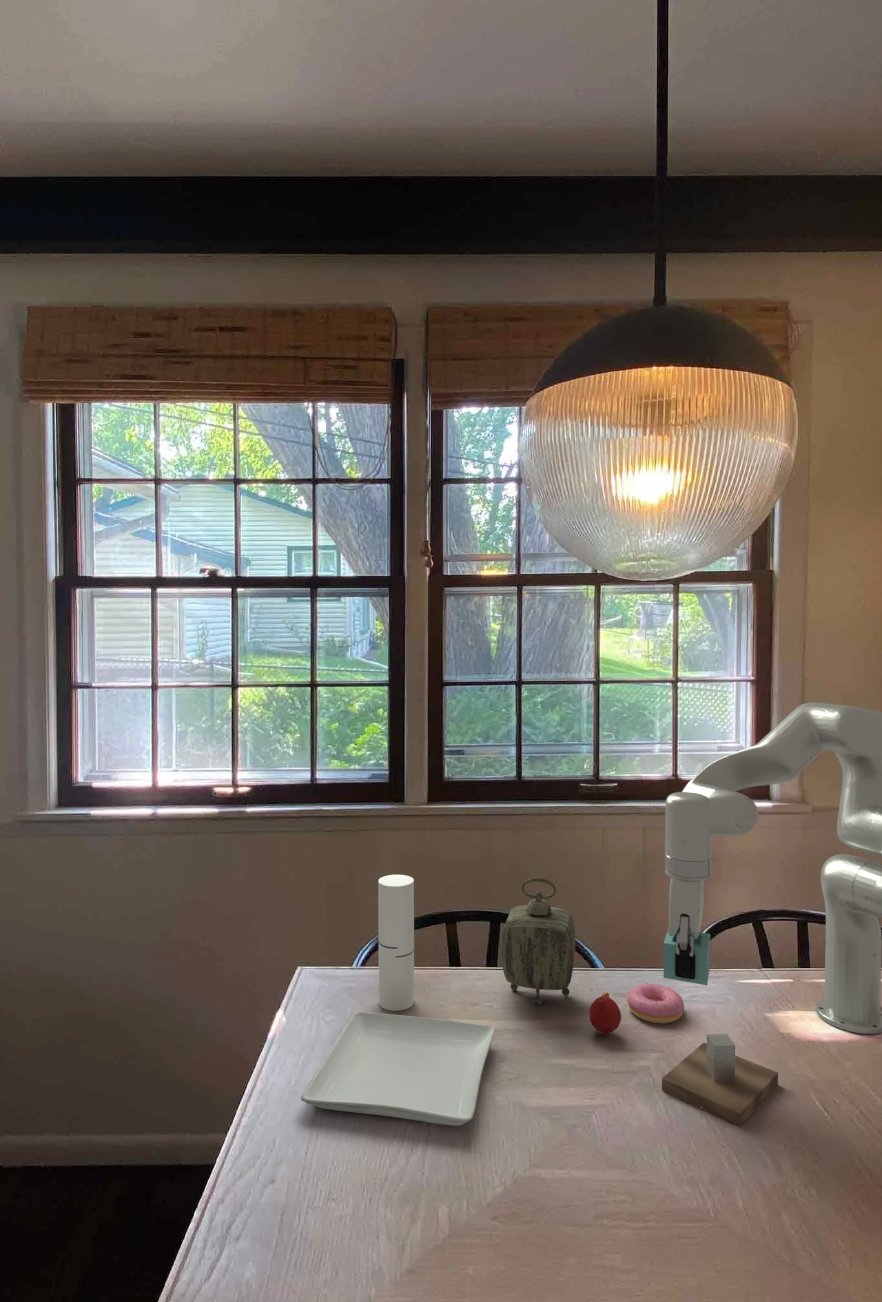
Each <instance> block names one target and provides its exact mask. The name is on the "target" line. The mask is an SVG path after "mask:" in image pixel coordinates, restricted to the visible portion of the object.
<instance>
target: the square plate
mask: <svg viewBox="0 0 882 1302" xmlns="http://www.w3.org/2000/svg"><path fill="white" fill-rule="evenodd" d="M495 1031H496V1030H495V1027H494V1026H492V1025H489V1024H488V1025H487V1024H479V1023H472V1022H471V1023H470V1022H465V1021H459V1020H458V1021H457V1020H456V1021H455V1020H449V1019H442V1018H432V1017H424V1016H423V1017H422V1016H414V1015H403V1014H402V1015H401V1014H394V1013H393V1014H392V1013H391V1014H390V1013H380V1012H379V1013H377V1012H363V1011H355V1012H353V1013H352V1014H351V1016H350V1017H349V1019H348V1021H346V1023H345V1024H344V1027H343V1028H342V1030H341V1032H340V1034H339V1035H338V1036H337V1037H336V1040H335V1041H334V1043H333V1045H332V1046H331V1048H330V1049H329V1051H328V1053H327V1054H326V1056H325V1057H324V1059H323V1061H322V1062H321V1063H320V1065H319V1067H318V1068H317V1069H316V1071H315V1073H314V1075H313V1076H312V1077H311V1079H310V1080H309V1082H308V1083H307V1086H306V1087H305V1088H304V1091H303V1093H302V1094H301V1096H300V1100H301V1101H302V1102H305V1103H306V1104H307V1105H310V1106H313V1107H317V1108H319V1109H324V1110H332V1111H338V1112H346V1113H356V1114H366V1115H374V1116H383V1117H384V1116H385V1117H390V1118H391V1117H392V1118H399V1119H405V1120H411V1121H412V1120H413V1121H417V1122H418V1121H419V1122H425V1123H431V1124H437V1125H442V1126H443V1125H445V1126H452V1127H453V1126H459V1127H460V1126H463V1125H465V1124H466V1123H468V1122H469V1121H471V1120H472V1119H473V1118H474V1115H475V1111H476V1107H477V1099H478V1096H479V1090H480V1089H479V1088H480V1085H481V1078H482V1074H483V1071H484V1067H485V1063H486V1059H487V1057H488V1053H489V1051H490V1048H491V1044H492V1041H493V1039H494V1035H495Z"/></svg>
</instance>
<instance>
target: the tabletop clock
mask: <svg viewBox="0 0 882 1302" xmlns="http://www.w3.org/2000/svg"><path fill="white" fill-rule="evenodd" d="M533 882H541V883H546V884H547V885H550V886H551V887H552V889H553V892H551V893H550V894H547V895H546V894H545V895H542V892H541V891H536V894H532V893H529V892H527V891H526V890H525V886H526V885H527V884H529V883H533ZM521 891H522V893H524V895H526V897H528V898H530V899H531V900H530V901H529V902H528V904H524V905H516V906H514V907H511V909H510V911H509V914H508V915H507V916H508V917H507V918H506V920H505V921H506V922H505V923H504V927H503V931H502V938H501V948H500V949H501V951H500V952H501V962H502V964H501V965H502V966H501V967H502V970H503V975H504V978H505V980H506V982H508V983H510V987H509V988H510V989H511V990H512V991H517V990H518V988H519V987H520V988H521V987H522V988H527V989H532V990H535V996H534V997H533V1003H534V1004H535V1005H537V1006H538V1005H541V1003H542V997H540V992H541V991H543V990H544V991H559V990H560V991H561V994H562V995H563V996H564V997H568V996H569V995H570V989H569V986H570V983H571V981H572V977H573V970H574V964H575V963H574V961H575V955H576V954H575V953H576V944H577V943H576V942H577V941H576V929H575V923H574V918H573V917H572V914H571V913H570V912H569V911H567V910H566V909H563V908H559V907H554V906H551V905H550V904H549V903H548V901H546V900H548V899H550V898H552V897H554V896H555V895H556V893H557V887H556V886H555V884H554V883H553V882H552V881H551V880H548V879H546V878H542V877H531V878H529V879H526V880H525V881H524V882H523V883H522V885H521ZM540 990H541V991H540Z"/></svg>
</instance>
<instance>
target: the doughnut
mask: <svg viewBox="0 0 882 1302" xmlns="http://www.w3.org/2000/svg"><path fill="white" fill-rule="evenodd" d="M627 994H628V995H627V996H626V997H627V998H626V1001H627V1005H628V1009H629V1010H630V1011H631V1013H632V1014H633V1015H635V1017H636V1018H638V1019H641V1020H643V1021H644V1022H645V1021H646V1022H648V1023H653V1024H669V1023H673V1022H675V1021H677V1020H679V1019H681V1017H682V1015H683V1013H684V1009H685V1004H684V999H683V998H682V996H681V995H680V994H679V992H677V991H676V990H675V989H673V988H670V987H669V986H665V985H662V984H659V983H657V984H656V983H648V982H647V983H643V984H642V983H641V984H638V985H636V986H634V987H632V988H631V989H630V990H629V993H627Z"/></svg>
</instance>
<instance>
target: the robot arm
mask: <svg viewBox="0 0 882 1302" xmlns="http://www.w3.org/2000/svg"><path fill="white" fill-rule="evenodd" d="M825 751H832V752H833V753H834V754H835V756H836V758H837V760H838V763H839V764H840V766H841V771H842V784H841V790H840V791H841V792H840V798H839V799H840V800H839V806H838V814H837V820H836V821H837V823H836V824H837V825H836V835H837V838H838V839H839V841H840V842H842V844H844V845H846V846H848V847H850V848H851V849H855V850H858V851H861V852H865V853H867V854H871V855H875V856H876V857H877V856H878V857H881V858H882V711H876V710H871V709H868V708H867V709H866V708H862V707H858V706H853V705H845V704H837V703H836V704H835V703H829V702H828V703H827V702H815V701H811V702H806V703H802V704H800V705H799V706H797V707H796V708H795V709H794V710H792V711H791V712H790V713H789V714H788V715H786V717H785V718H783V719H782V720H781V721H780V722H779V723H778V724H777V725H776V726H775V727H774V728H772V730H770V731H769V732H768V733H767V734H766V735H764V737H763V738H762V739H761V740H759V742H757V743H756V744H754V745H751V746H748V747H746V748H745V747H744V748H743V749H740V750H737V751H736V752H733V753H730V754H727V755H726V756H723V757H721V758H719V759H716V760H715V761H712V762H711V763H710V764H709V763H708V765H706V766H705V767H704V768H702V769H701V770H700V771H699V772H698V773H697V774H696V775H695V776H694V777H692V779H691V780H689V782H688V783H686V785H685V786H684V787H683V789H682V791H677V792H673V793H671V794H669V795H667V797H666V799H665V814H664V815H665V823H664V824H665V826H664V827H665V828H664V829H665V830H664V831H665V832H664V835H665V837H664V839H665V841H664V842H665V846H664V847H665V851H664V853H665V854H664V857H665V858H664V869H665V870H664V874H666V876H668V877H670V883H669V898H668V899H669V900H668V901H669V902H668V903H669V904H668V929H667V931H668V934H669V935H670V936H672V935H675V934H676V932H677V944H676V952H675V976H677V977H681V978H687V979H695V955H694V940H695V939H697V938H698V936H699V932H700V933H701V927H702V926H701V925H702V920H703V913H704V911H703V910H704V887H705V886H704V884H705V881H707V880H709V879H711V878H712V837H714V836H718V837H719V836H721V837H739V836H743V835H747V834H748V833H749V832H751V831H752V830H753V829H754V828H755V827H756V826H757V824H758V820H759V809H758V806H757V804H756V803H755V801H753V799H751V798H750V797H749V796H747V795H745V794H743V793H741V792H737V791H739V790H740V791H741V790H744V789H746V788H750V787H760V786H770V785H777V784H781V783H786V782H791V780H794V779H795V778H796V777H798V775H799V774H800V773H801V772H802V771H803V770H804V769H805V768H806V767H808V765H809V764H810V763H811V762H812V761H813V760H814V759H816V757H817V756H819V755H820V754H821V753H822V752H825ZM820 886H821V890H822V895H823V901H824V907H825V909H824V910H825V953H824V954H825V957H824V958H825V959H824V960H825V962H824V965H825V966H824V997H822V998H820V999H818V1000H817V1001H816V1003H815V1012H816V1014H817V1016H818V1017H819V1018H820V1019H821V1020H823V1021H824V1022H826V1023H827V1024H829V1025H831V1026H834V1027H835V1028H837V1029H841V1030H843V1031H847V1032H851V1033H857V1034H862V1035H863V1034H864V1035H875V1034H876V1035H878V1034H880V1033H882V1009H881V985H882V983H881V979H882V977H881V975H882V930H881V925H880V923H879V919H882V863H879V862H876V861H873V860H871V859H868V858H864V857H860V856H857V855H852V854H847V853H840V854H839V853H838V854H835V855H833V856H830V857H829V858H827V859H826V860H825V862H824V863H823V865H822V868H821V871H820ZM878 918H879V919H878ZM688 933H692V936H688ZM688 940H691V941H690V945H689V944H688Z"/></svg>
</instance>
